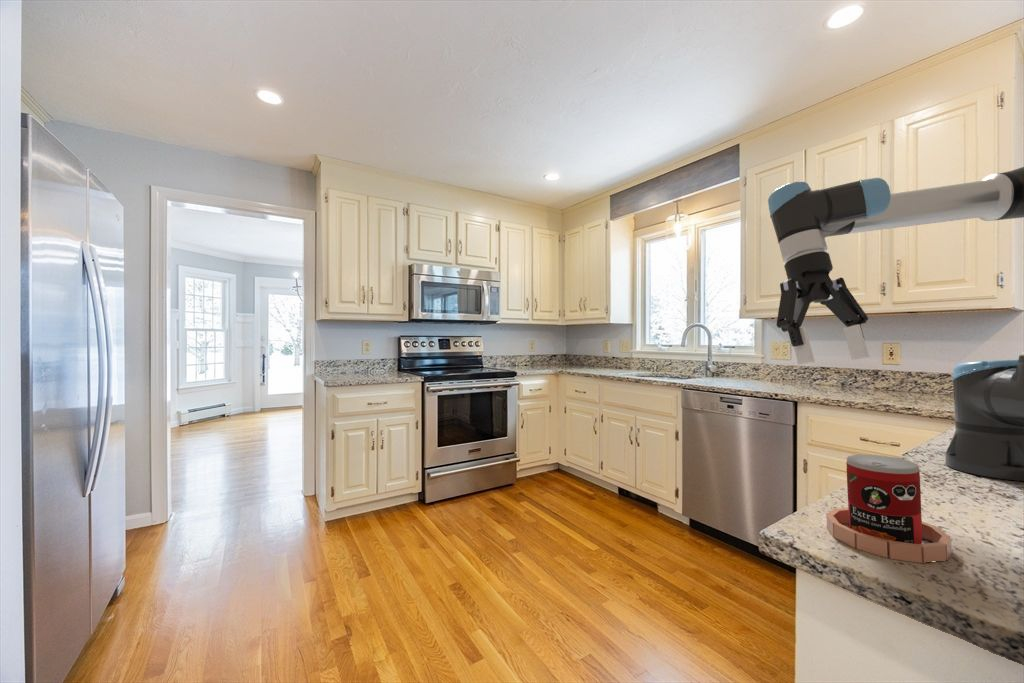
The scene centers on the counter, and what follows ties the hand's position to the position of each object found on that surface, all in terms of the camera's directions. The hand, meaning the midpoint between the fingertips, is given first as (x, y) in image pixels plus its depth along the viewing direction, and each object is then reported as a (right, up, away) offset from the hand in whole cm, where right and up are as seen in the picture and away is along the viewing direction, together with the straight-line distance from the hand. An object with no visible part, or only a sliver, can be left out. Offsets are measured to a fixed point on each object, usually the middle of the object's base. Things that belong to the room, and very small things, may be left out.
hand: (834, 360), depth 78 cm
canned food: (-9, -24, -21) cm, 33 cm away
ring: (-9, -24, -21) cm, 33 cm away
